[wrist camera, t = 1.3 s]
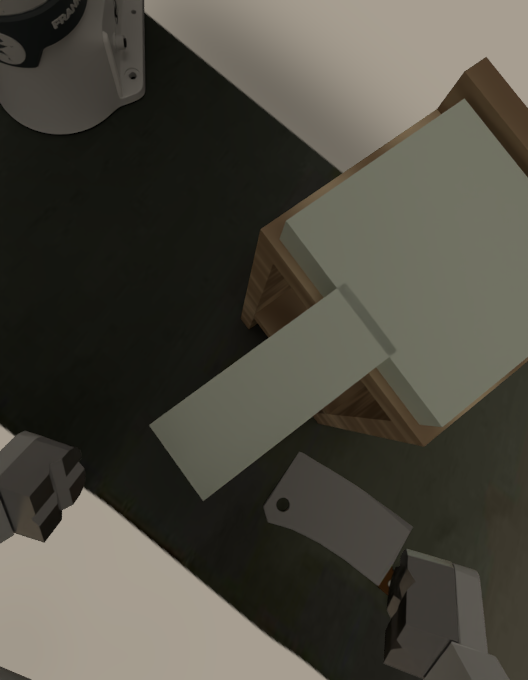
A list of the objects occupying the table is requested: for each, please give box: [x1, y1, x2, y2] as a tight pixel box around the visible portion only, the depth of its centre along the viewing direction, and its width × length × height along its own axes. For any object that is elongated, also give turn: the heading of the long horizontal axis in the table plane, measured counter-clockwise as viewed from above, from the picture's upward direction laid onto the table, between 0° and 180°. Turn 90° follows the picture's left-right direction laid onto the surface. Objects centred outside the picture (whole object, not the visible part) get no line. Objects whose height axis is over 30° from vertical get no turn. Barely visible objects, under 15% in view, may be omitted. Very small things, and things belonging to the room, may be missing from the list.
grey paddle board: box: [149, 98, 528, 501], centre depth 23 cm, size 22×12×2 cm, turn 126°
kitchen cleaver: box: [263, 452, 413, 595], centre depth 48 cm, size 24×1×10 cm
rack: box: [241, 57, 528, 447], centre depth 36 cm, size 14×14×29 cm
